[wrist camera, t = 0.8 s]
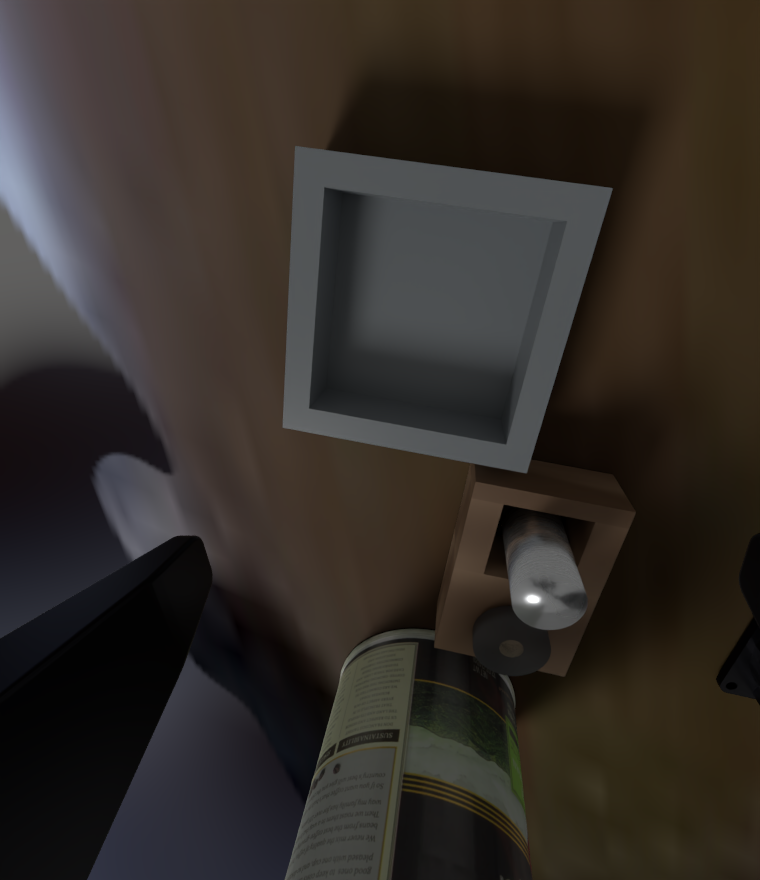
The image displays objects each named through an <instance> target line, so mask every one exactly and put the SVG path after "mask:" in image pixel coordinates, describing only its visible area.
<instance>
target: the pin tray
mask: <svg viewBox="0 0 760 880" xmlns="http://www.w3.org/2000/svg"><path fill="white" fill-rule="evenodd" d="M612 190H613V188H608V187H600V186H593V185H585V184H578V183H570V182H562V181H555V180H547V179H540V178H532V177H525V176H517V175H510V174H502V173H495V172H487V171H479V170H472V169H464V168H457V167H449V166H442V165H434V164H427V163H419V162H411V161H404V160H396V159H389V158H381V157H374V156H366V155H359V154H351V153H344V152H336V151H328V150H321V149H313V148H306V147H298V146H295V163H294V185H293V208H292V230H291V253H290V275H289V297H288V320H287V342H286V364H285V387H284V409H283V428H288V429H293V430H298V431H304V432H309V433H314V434H320V435H325V436H330V437H336V438H341V439H346V440H351V441H357V442H362V443H367V444H373V445H378V446H383V447H389V448H394V449H399V450H405V451H410V452H415V453H420V454H426V455H431V456H436V457H442V458H447V459H452V460H458V461H463V462H468V463H474V464H479V465H484V466H490V467H495V468H500V469H505V470H511V471H516V472H521V473H527V471H528V467H529V464H530V461H531V457H532V454H533V451H534V448H535V444H536V441H537V438H538V434H539V431H540V428H541V424H542V421H543V418H544V414H545V411H546V408H547V405H548V401H549V398H550V395H551V391H552V388H553V385H554V381H555V378H556V375H557V371H558V368H559V365H560V362H561V358H562V355H563V352H564V348H565V345H566V342H567V338H568V335H569V332H570V328H571V325H572V322H573V319H574V315H575V312H576V309H577V305H578V302H579V299H580V295H581V292H582V289H583V285H584V282H585V279H586V276H587V272H588V269H589V266H590V262H591V259H592V256H593V252H594V249H595V246H596V242H597V239H598V236H599V233H600V229H601V226H602V223H603V219H604V216H605V213H606V209H607V206H608V203H609V199H610V196H611V193H612Z"/></svg>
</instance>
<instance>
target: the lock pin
mask: <svg viewBox="0 0 760 880" xmlns="http://www.w3.org/2000/svg"><path fill="white" fill-rule="evenodd" d="M500 518H501V525H502V533H503V541H504V548H505V556H506V564H507V571H508V579H509V587H510V594H511V602H512V608H513V610H514V612H515V614H516V615H517V617H518V618H519V619H520V620H521V621H523V622H524V623H526V624H527V625H529V626H532V627H534V628H538V629H543V630H557V629H562V628H566V627H568V626H570V625H572V624H574V623H576V622H577V621H578V620H579V619H580V618H581V617H582V616H583V615H584V613H585V612H586V609H587V605H588V598H587V594H586V591H585V588H584V586H583V583H582V580H581V577H580V574H579V571H578V568H577V565H576V562H575V559H574V556H573V553H572V550H571V547H570V544H569V541H568V538H567V535H566V532H565V529H564V526H563V523H562V520H561V517H560V515H555V514H550V513H545V512H540V511H535V510H530V509H524V508H519V507H514V506H509V505H503V508H502V512H501V515H500Z"/></svg>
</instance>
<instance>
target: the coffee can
mask: <svg viewBox="0 0 760 880" xmlns="http://www.w3.org/2000/svg"><path fill="white" fill-rule="evenodd" d="M434 641H435V630H428V629H412V628H409V629H399V630H393V631H388V632H384V633H381V634H379V635H376V636H373V637H371V638H369V639H368V640H366V641H364V642H363V643H361V644H360V645H358V646H357V647H356V648H355V649H354V650H353V651H352V652H351V653H350V655H349V656H348V657H347V659H346V661H345V663H344V665H343V667H342V670H341V675H340V682H339V686H338V690H337V694H336V698H335V701H334V705H333V708H332V712H331V715H330V719H329V723H328V726H327V730H326V734H325V737H324V741H323V745H322V748H321V752H320V755H319V759H318V763H317V766H316V770H315V773H314V777H313V780H312V784H311V788H310V792H309V795H308V799H307V802H306V806H305V810H304V813H303V817H302V821H301V824H300V828H299V831H298V835H297V838H296V842H295V846H294V849H293V853H292V856H291V860H290V864H289V867H288V871H287V874H286V878H285V880H532V873H531V863H530V851H529V842H528V833H527V825H526V816H525V805H524V795H523V785H522V775H521V766H520V757H519V746H518V736H517V727H516V716H515V704H516V703H515V694H514V689H513V687H512V684H511V681H510V679H509V678H508V676H507V675H502V674H498V673H495V672H493V671H491V670H489V669H487V668H486V667H484V666H483V665H482V664H481V663H480V662H479V661H478V660H477V658H476V657H474V656H470V655H465V654H461V653H456V652H452V651H447V650H443V649H439V648H434Z"/></svg>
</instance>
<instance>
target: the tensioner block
mask: <svg viewBox="0 0 760 880" xmlns="http://www.w3.org/2000/svg"><path fill="white" fill-rule="evenodd" d="M503 505H509V506H514V507H519V508H524V509H530V510H535V511H540V512H545V513H550V514H555V515H560V516H565V517H566V519H565V522H564V525H563V526H564V529H565V532H566V535H567V538H568V541H569V544H570V547H571V550H572V553H573V556H574V559H575V562H576V565H577V568H578V571H579V574H580V577H581V580H582V583H583V586H584V588H585V591H586V594H587V598H588V605H587V609H586V612H585V613H584V615H583V616H582V617H581V618H580V619H579V620H578V621H577V622H576V623H574V624H572V625H570V626H568V627H566V628H562V629H557V630H543V629H538V628H534V627H532V626H529V625H527V624H526V623H524V622H523V621H521V620H520V619H519V618H518V617H517V615H516V614H515V612H514V610H513V608H512V602H511V594H510V587H509V579H508V571H507V564H506V556H505V548H504V541H503V537H501V536H496V535H495V533H496V529H497V526H498V522H499V519H500V515H501V512H502V508H503ZM635 514H636V511H635V510H634V508H633V506H632V505H631V503H630V502H629V500H628V498H627V497H626V495H625V493H624V492H623V490H622V488H621V487H620V485H619V483H618V482H617V480H616V478H615V477H614V475H613V474H608V473H602V472H597V471H591V470H586V469H581V468H575V467H570V466H564V465H559V464H554V463H548V462H543V461H538V460H532V459H531V461H530V464H529V467H528V471H527V473H521V472H516V471H511V470H505V469H500V468H495V467H490V466H484V465H479V464H474V463H470V467H469V472H468V476H467V480H466V484H465V488H464V492H463V496H462V501H461V505H460V509H459V513H458V517H457V521H456V526H455V530H454V534H453V538H452V542H451V546H450V550H449V555H448V559H447V563H446V567H445V571H444V575H443V579H442V584H441V588H440V592H439V596H438V600H437V612H436V627H435V641H434V648H439V649H443V650H447V651H452V652H456V653H461V654H465V655H470V656H474V657H476V658H477V660H478V661H479V662H480V663H481V664H482V665H483V666H484V667H486V668H487V669H489V670H491V671H493V672H495V673H498V674H502V675H507V676H522V675H527V674H530V673H533V672H535V671H541V672H545V673H550V674H554V675H559V676H563V677H565V675H566V673H567V671H568V668H569V666H570V664H571V661H572V659H573V657H574V654H575V652H576V650H577V648H578V645H579V643H580V641H581V638H582V636H583V634H584V631H585V629H586V627H587V625H588V622H589V620H590V618H591V615H592V613H593V611H594V608H595V606H596V604H597V602H598V599H599V597H600V595H601V592H602V590H603V588H604V585H605V583H606V581H607V579H608V576H609V574H610V572H611V569H612V567H613V565H614V562H615V560H616V558H617V556H618V553H619V551H620V549H621V546H622V544H623V542H624V539H625V537H626V535H627V533H628V530H629V528H630V526H631V523H632V521H633V519H634V516H635Z"/></svg>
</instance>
